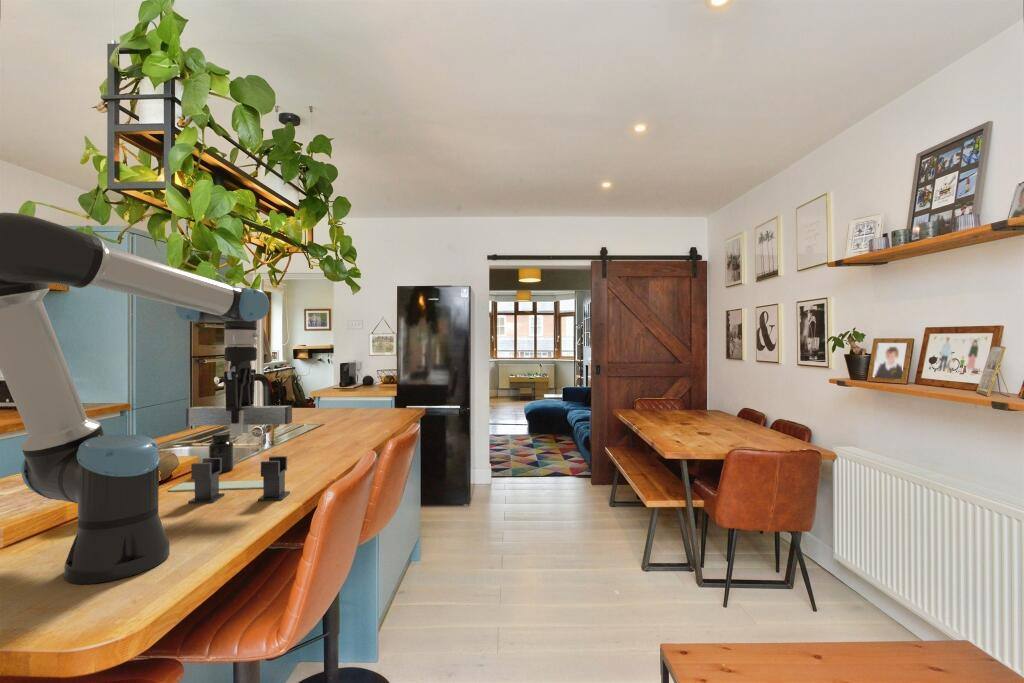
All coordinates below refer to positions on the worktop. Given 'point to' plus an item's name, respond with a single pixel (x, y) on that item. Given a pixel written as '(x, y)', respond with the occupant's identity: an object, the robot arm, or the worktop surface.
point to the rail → (250, 415)
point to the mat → (222, 485)
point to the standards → (211, 467)
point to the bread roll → (167, 464)
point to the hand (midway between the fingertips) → (240, 434)
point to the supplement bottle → (222, 450)
